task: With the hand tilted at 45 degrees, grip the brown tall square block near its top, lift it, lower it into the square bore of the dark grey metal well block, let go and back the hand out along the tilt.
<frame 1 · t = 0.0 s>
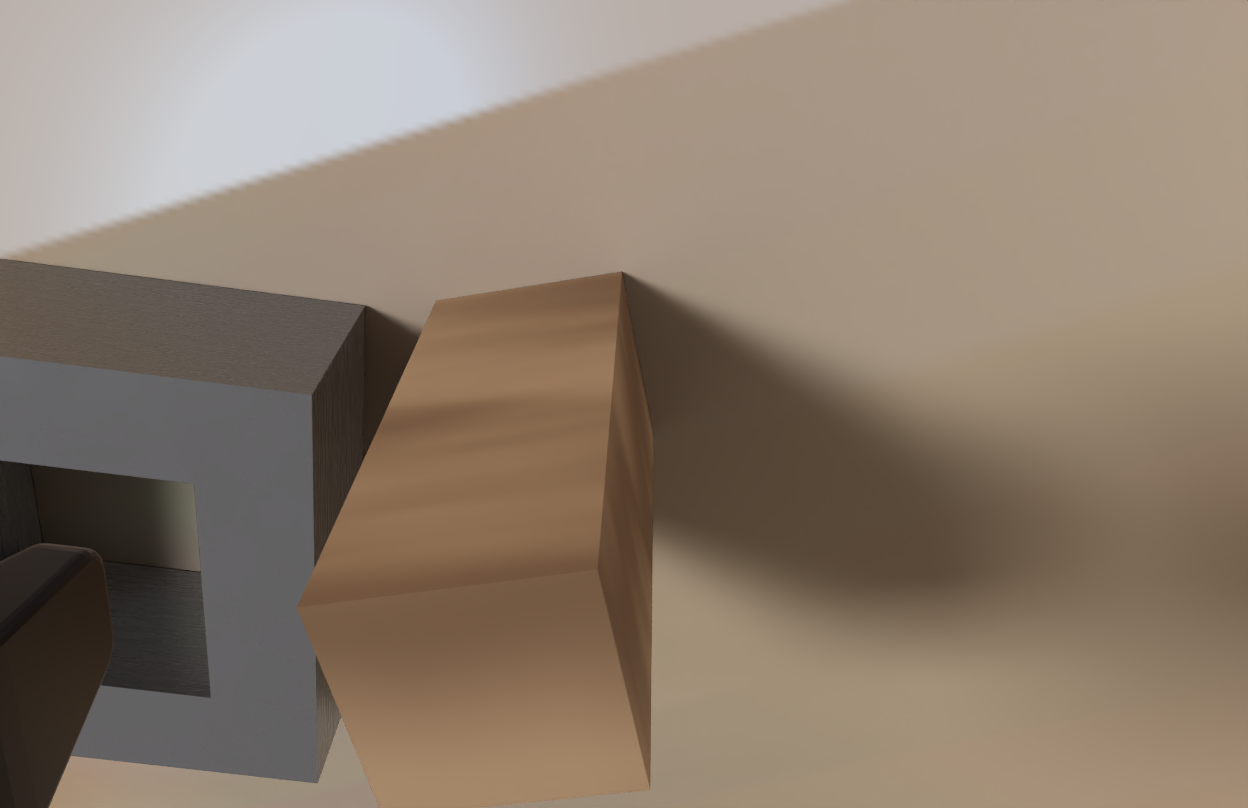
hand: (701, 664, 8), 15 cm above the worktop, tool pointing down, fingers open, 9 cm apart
brown tall square block: (548, 370, 23), on the worktop
well block: (148, 473, 25), on the worktop
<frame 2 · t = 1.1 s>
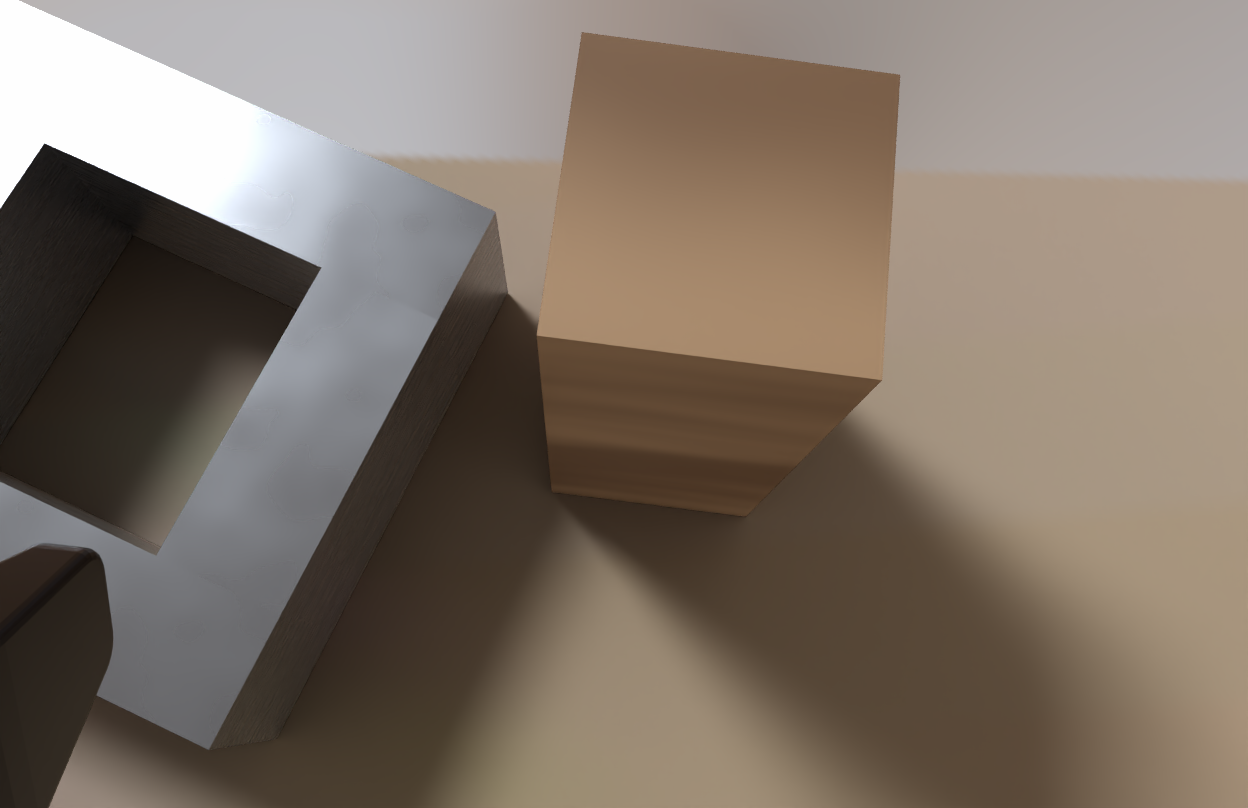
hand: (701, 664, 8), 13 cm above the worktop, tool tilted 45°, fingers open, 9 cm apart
brown tall square block: (659, 410, 23), on the worktop
well block: (180, 401, 22), on the worktop
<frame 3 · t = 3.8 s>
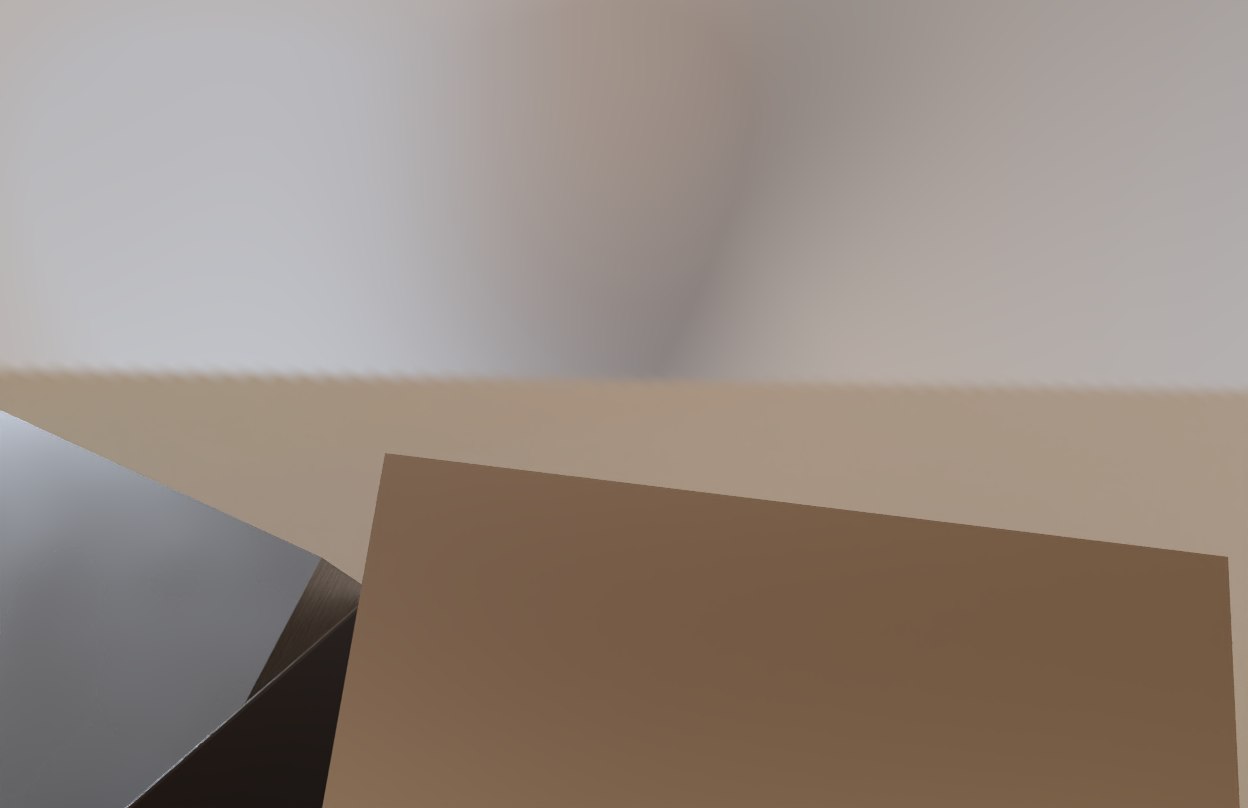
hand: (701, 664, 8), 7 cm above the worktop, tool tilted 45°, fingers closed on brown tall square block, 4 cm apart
brown tall square block: (621, 794, 14), on the worktop, touching gripper
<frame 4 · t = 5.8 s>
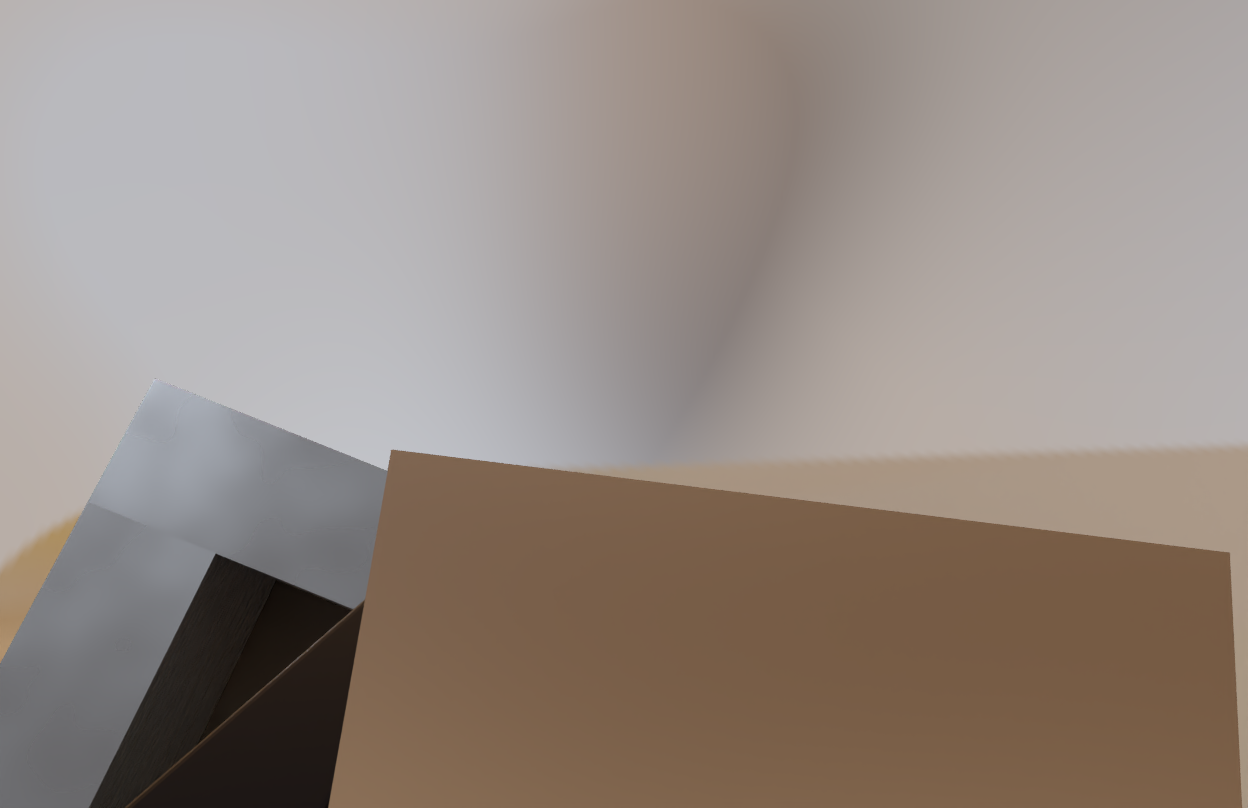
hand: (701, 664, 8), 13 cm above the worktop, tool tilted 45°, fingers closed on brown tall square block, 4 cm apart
brown tall square block: (623, 793, 14), point 7 cm above the worktop, touching gripper
well block: (344, 770, 20), on the worktop
when the fingers open (8 cm above the worktop, at t = 7.8 s): brown tall square block drops 1 cm, resting in well block.
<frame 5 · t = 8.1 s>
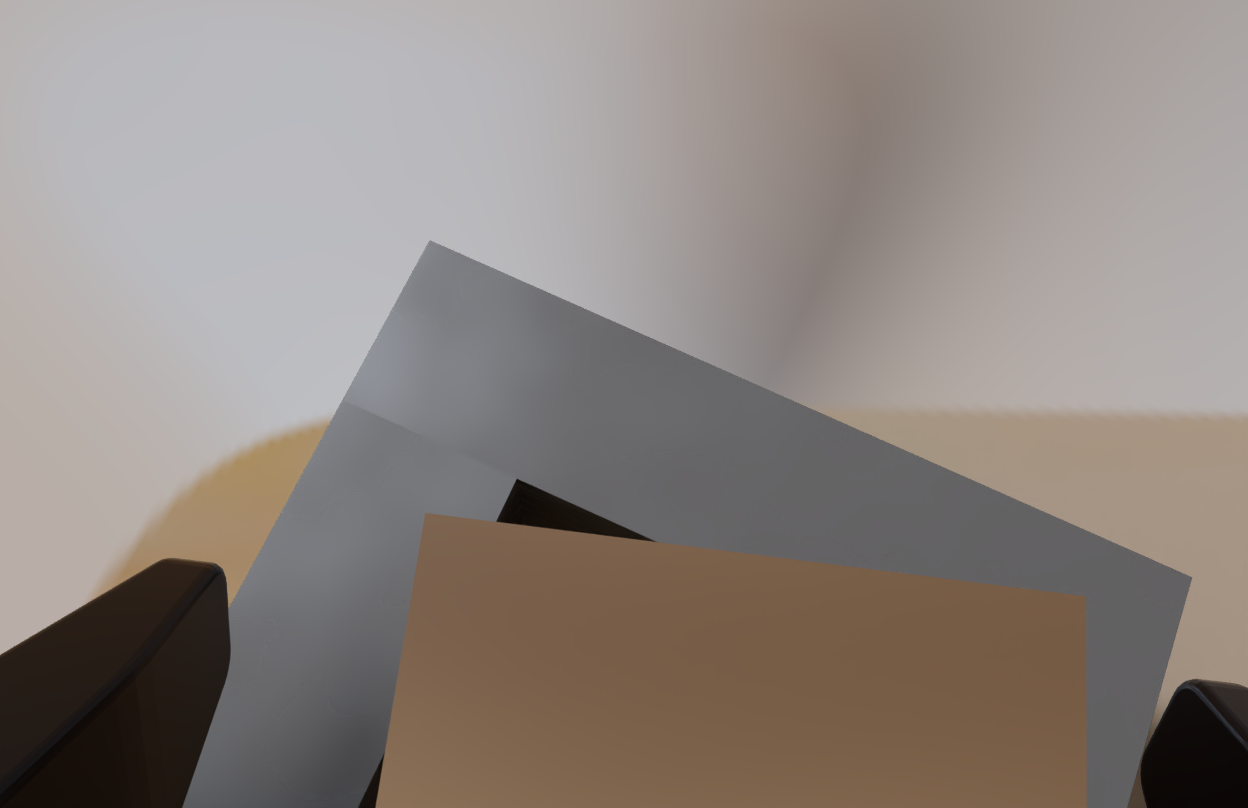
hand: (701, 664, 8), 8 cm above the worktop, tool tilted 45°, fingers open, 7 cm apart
brown tall square block: (615, 786, 15), resting in well block
well block: (615, 784, 15), on the worktop
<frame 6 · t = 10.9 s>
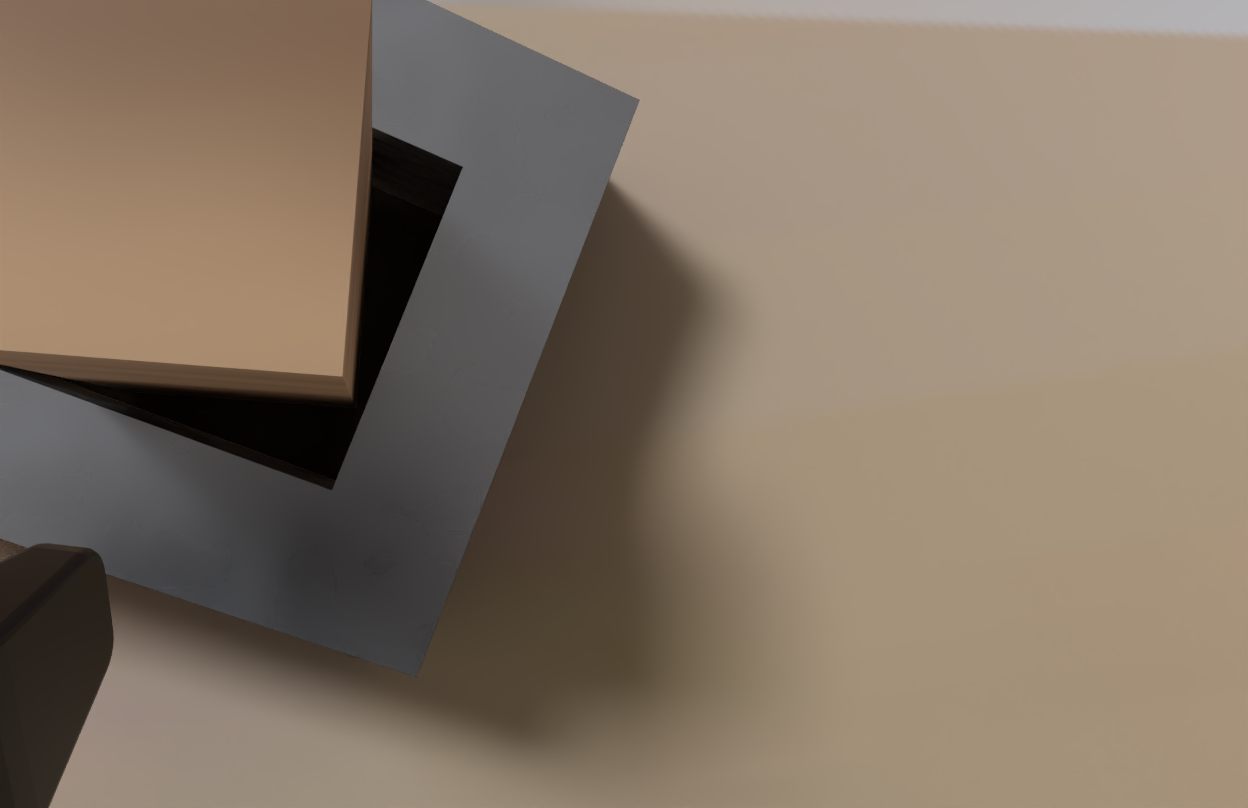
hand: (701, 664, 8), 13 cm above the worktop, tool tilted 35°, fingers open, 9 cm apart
brown tall square block: (255, 294, 20), resting in well block
well block: (254, 292, 20), on the worktop
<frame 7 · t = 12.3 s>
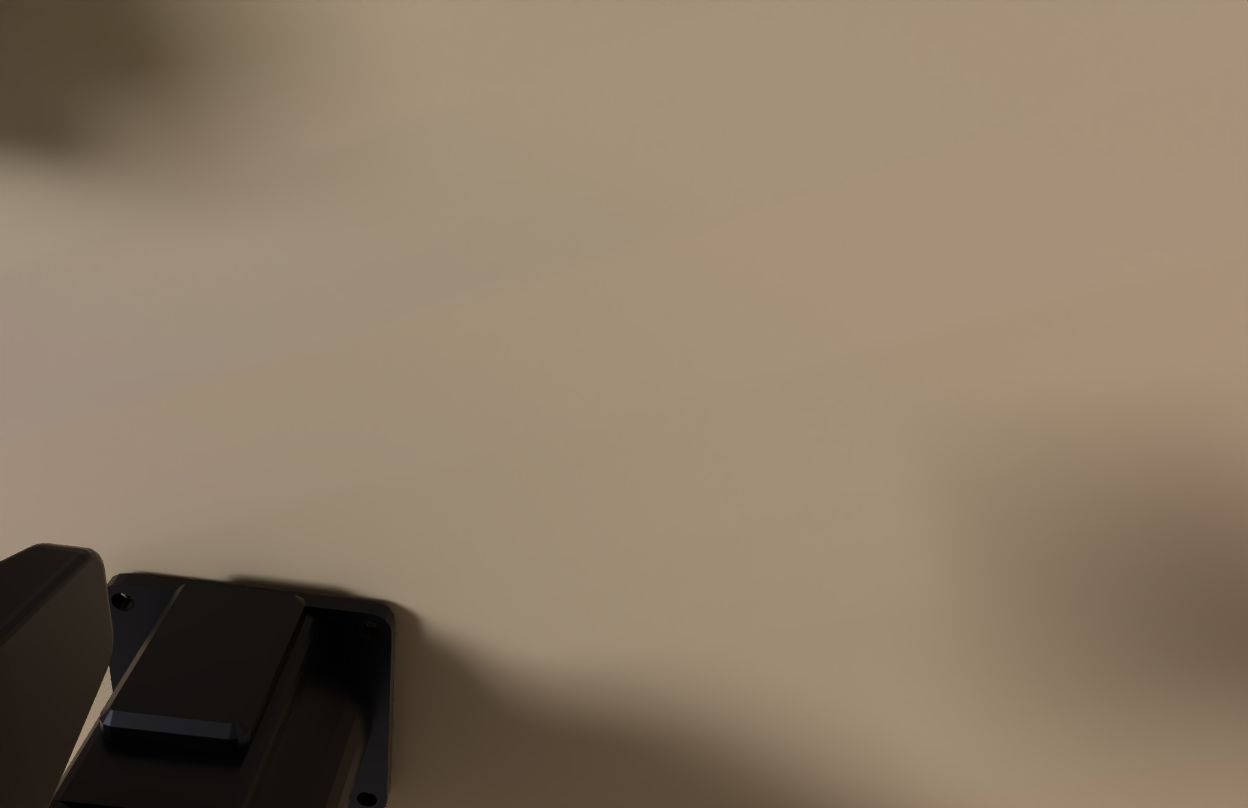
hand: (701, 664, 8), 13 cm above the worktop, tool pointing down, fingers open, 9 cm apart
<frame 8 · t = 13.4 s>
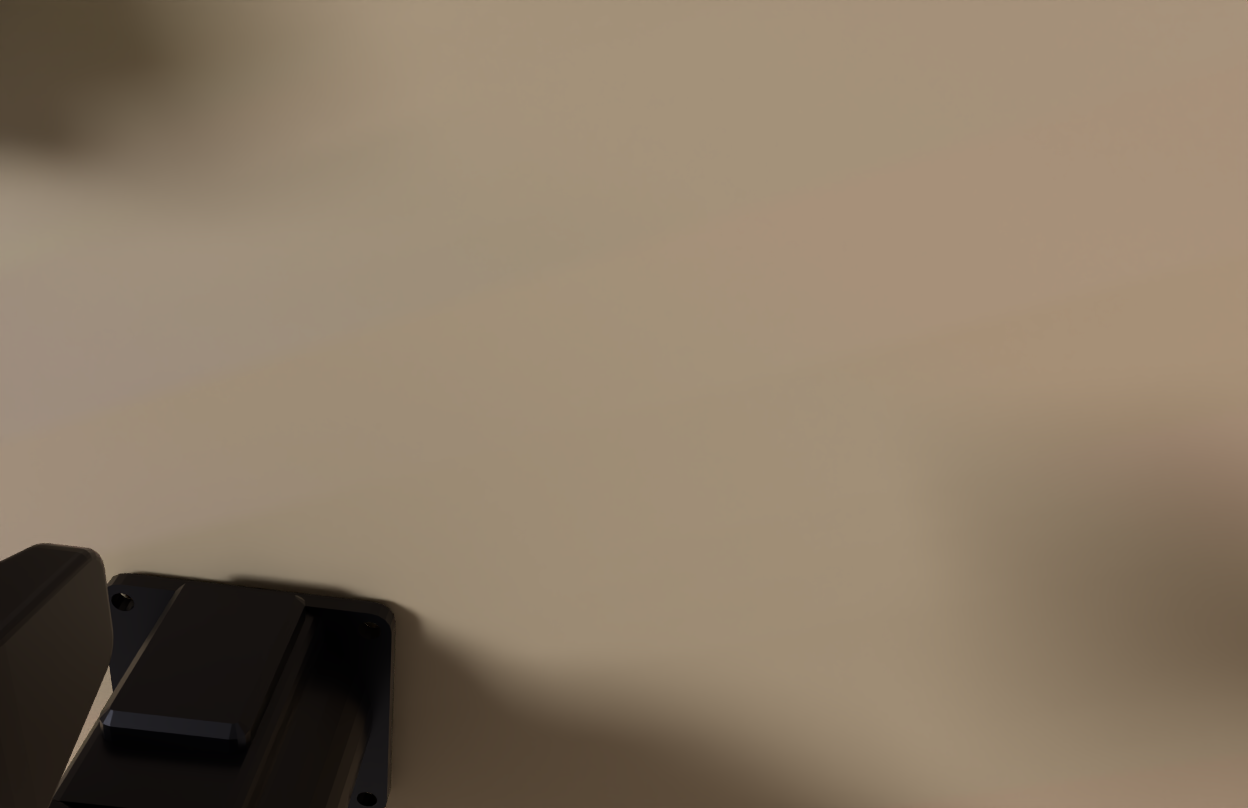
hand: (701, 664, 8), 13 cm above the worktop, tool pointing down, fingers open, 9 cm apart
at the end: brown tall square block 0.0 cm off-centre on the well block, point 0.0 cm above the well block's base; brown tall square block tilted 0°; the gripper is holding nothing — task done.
